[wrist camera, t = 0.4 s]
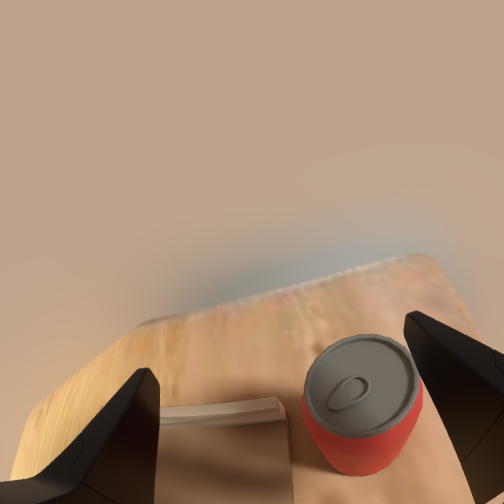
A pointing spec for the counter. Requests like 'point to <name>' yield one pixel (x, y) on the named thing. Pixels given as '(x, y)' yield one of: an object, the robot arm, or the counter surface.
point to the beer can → (362, 402)
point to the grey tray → (224, 454)
